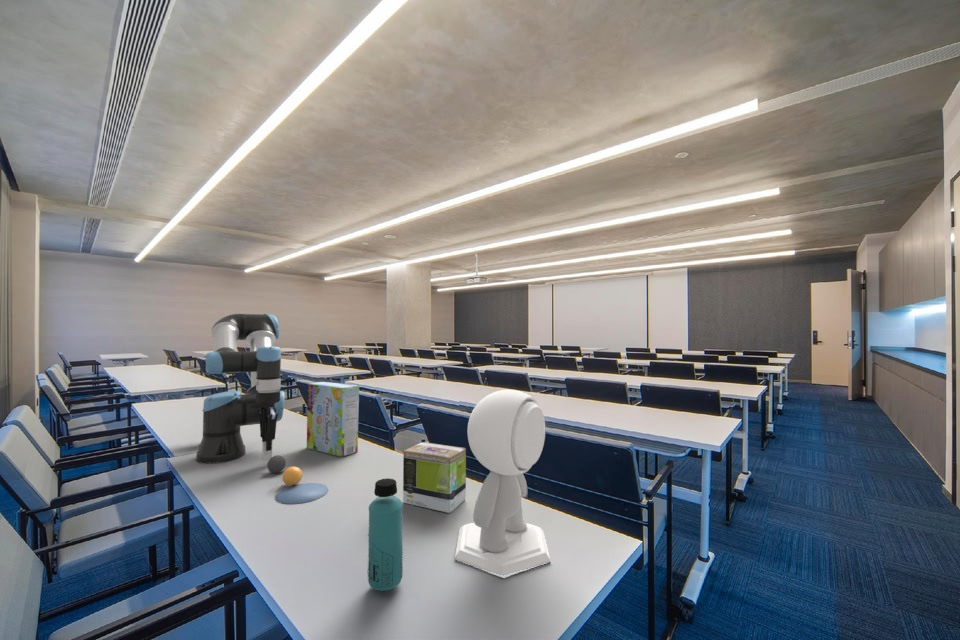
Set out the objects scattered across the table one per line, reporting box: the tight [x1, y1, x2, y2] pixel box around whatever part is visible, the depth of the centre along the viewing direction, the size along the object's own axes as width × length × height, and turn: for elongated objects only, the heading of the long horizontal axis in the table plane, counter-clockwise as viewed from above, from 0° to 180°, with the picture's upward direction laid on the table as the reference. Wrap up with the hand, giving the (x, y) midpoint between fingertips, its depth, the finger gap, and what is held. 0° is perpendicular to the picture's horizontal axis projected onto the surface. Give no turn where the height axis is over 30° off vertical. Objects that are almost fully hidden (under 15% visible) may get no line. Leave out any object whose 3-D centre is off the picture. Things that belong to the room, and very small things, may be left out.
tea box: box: [402, 441, 467, 514], centre depth 111 cm, size 15×10×15 cm
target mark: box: [274, 482, 329, 505], centre depth 115 cm, size 14×14×1 cm
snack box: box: [306, 381, 360, 458], centre depth 155 cm, size 22×9×26 cm, turn 58°
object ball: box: [281, 466, 303, 487], centre depth 121 cm, size 6×6×6 cm
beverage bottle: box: [367, 478, 404, 592], centre depth 74 cm, size 6×7×20 cm
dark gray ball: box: [266, 454, 287, 474], centre depth 131 cm, size 6×6×6 cm
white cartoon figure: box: [454, 389, 551, 576], centre depth 89 cm, size 20×23×35 cm
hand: (267, 459), depth 138 cm, fingers closed
